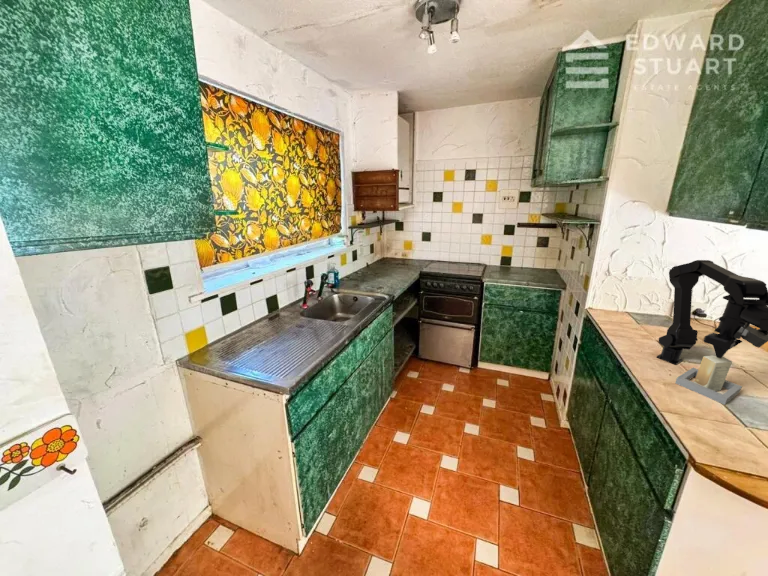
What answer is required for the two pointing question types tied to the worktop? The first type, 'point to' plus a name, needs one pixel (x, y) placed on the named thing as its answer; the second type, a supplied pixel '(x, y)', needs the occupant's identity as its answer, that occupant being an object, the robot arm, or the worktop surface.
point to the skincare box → (713, 372)
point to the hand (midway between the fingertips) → (718, 357)
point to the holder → (721, 398)
